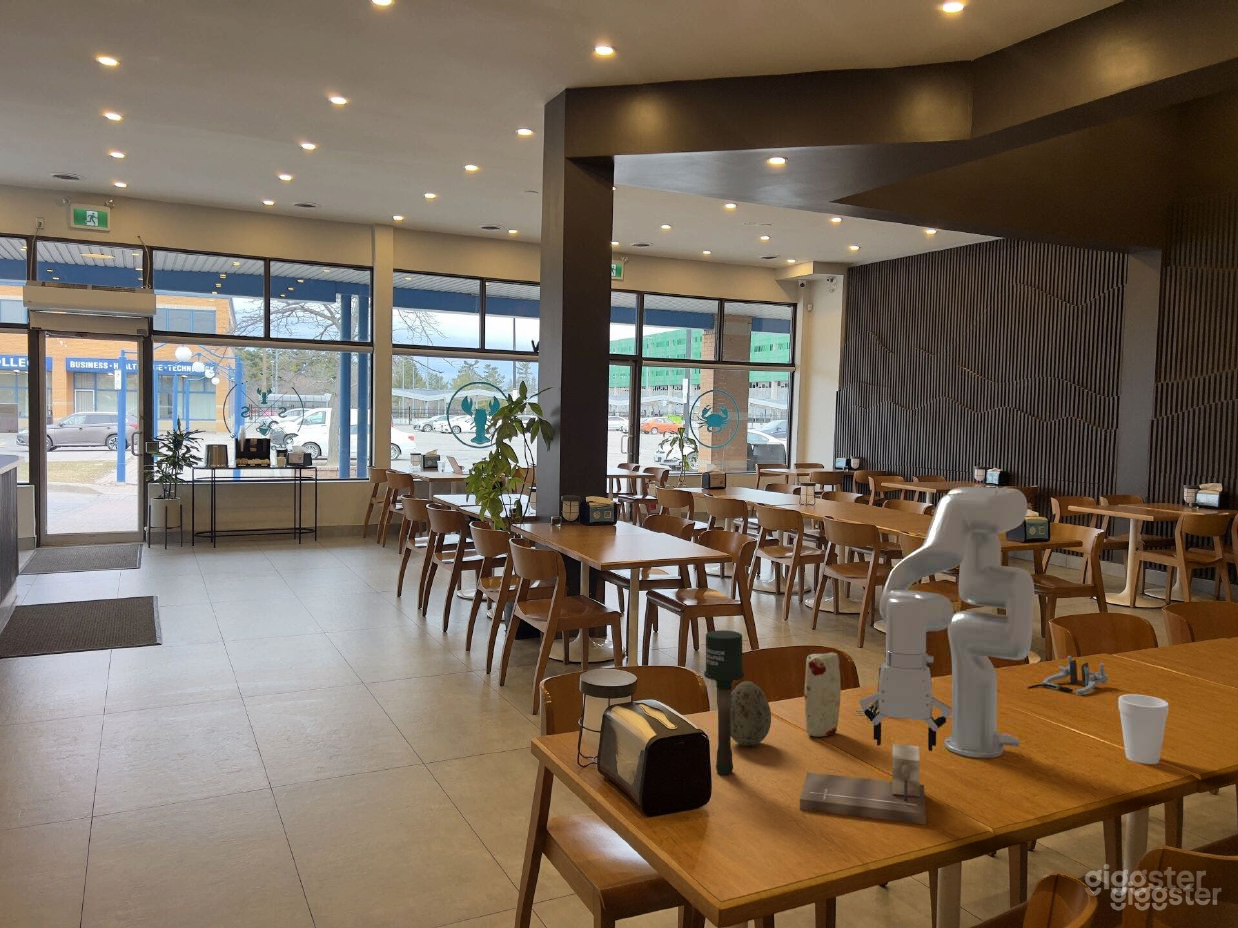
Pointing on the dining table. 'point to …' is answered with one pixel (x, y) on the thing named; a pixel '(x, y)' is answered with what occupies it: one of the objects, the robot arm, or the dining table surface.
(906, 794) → the block
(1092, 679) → the bike brake
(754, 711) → the decorative egg
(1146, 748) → the foam cup
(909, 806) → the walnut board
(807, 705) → the food model
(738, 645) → the stick grenade
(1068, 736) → the dining table surface
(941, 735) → the dining table surface
